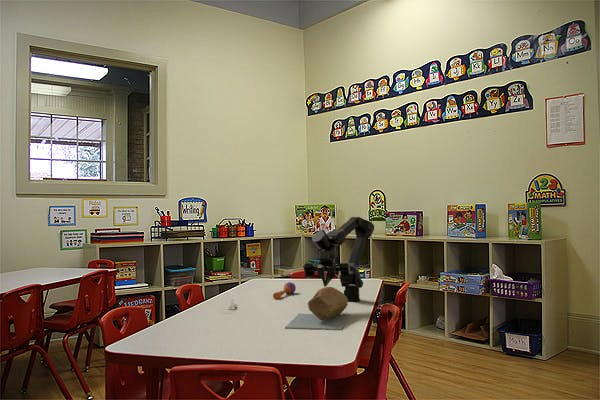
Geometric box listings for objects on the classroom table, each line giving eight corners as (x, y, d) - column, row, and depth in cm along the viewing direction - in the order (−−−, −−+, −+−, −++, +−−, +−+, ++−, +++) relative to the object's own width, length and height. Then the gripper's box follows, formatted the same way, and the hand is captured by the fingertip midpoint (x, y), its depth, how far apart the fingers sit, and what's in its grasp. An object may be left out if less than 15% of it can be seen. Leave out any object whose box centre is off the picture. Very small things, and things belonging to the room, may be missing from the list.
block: (352, 301, 192) (333, 310, 174) (341, 315, 194) (321, 325, 176) (333, 282, 196) (312, 288, 178) (321, 296, 198) (300, 303, 180)
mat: (349, 315, 191) (349, 314, 191) (341, 329, 168) (341, 328, 168) (298, 314, 195) (298, 313, 195) (284, 328, 172) (284, 327, 172)
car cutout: (227, 307, 215) (227, 297, 215) (241, 308, 214) (241, 297, 214) (215, 315, 200) (215, 303, 201) (231, 315, 199) (231, 304, 199)
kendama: (269, 290, 233) (285, 281, 252) (272, 303, 233) (288, 293, 252) (280, 289, 231) (296, 280, 250) (283, 301, 231) (298, 291, 249)
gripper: (303, 243, 206) (299, 273, 194) (348, 243, 202) (346, 273, 191) (307, 260, 213) (303, 290, 202) (350, 260, 209) (348, 290, 198)
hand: (324, 285), depth 198 cm, fingers closed
